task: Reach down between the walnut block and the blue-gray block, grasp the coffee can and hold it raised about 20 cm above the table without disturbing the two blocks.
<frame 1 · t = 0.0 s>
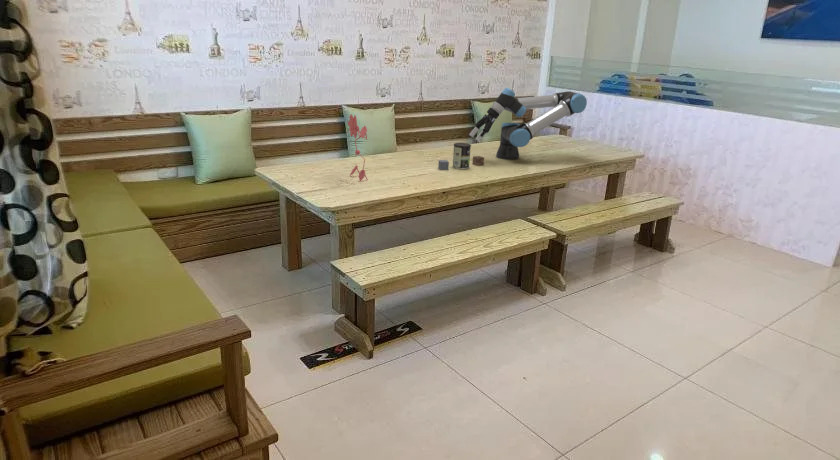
hand: (473, 138, 340), 15 cm above the table, tool tilted 35°, fingers open, 13 cm apart
walnut block: (478, 164, 340), on the table
red plant: (352, 179, 295), on the table
coffee can: (460, 167, 331), on the table
blue-gray block: (443, 169, 325), on the table
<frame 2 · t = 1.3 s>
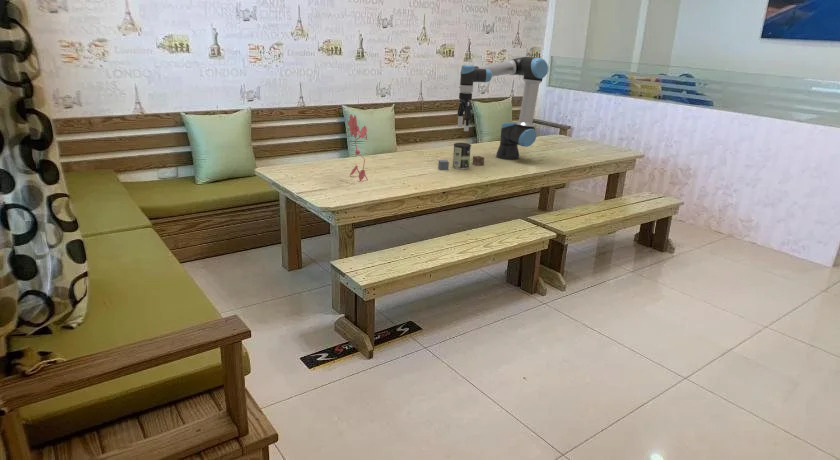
hand: (462, 129, 323), 23 cm above the table, tool pointing down, fingers open, 13 cm apart
nothing on the table moved.
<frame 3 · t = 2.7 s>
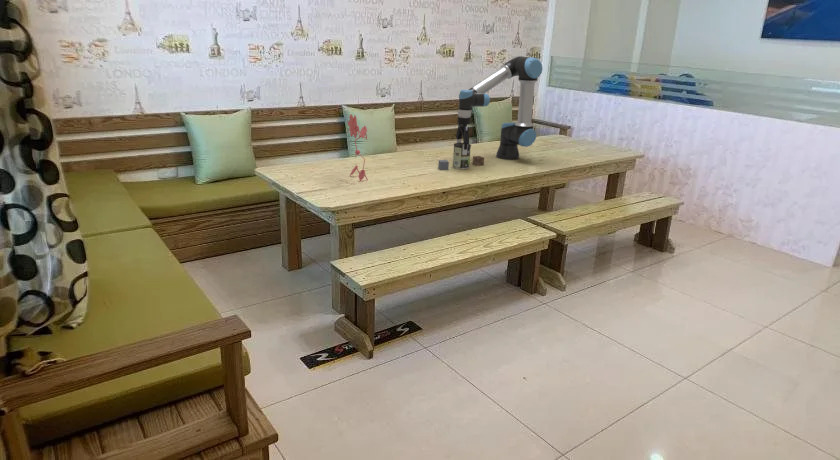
hand: (461, 152, 328), 9 cm above the table, tool pointing down, fingers open, 13 cm apart
nothing on the table moved.
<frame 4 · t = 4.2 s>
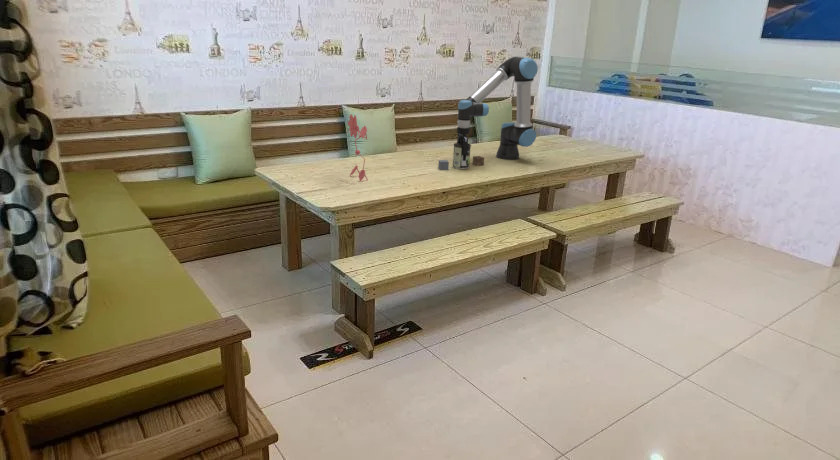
hand: (460, 163, 331), 2 cm above the table, tool pointing down, fingers closed on coffee can, 10 cm apart
coffee can: (460, 167, 331), on the table, touching gripper
everything else where it was.
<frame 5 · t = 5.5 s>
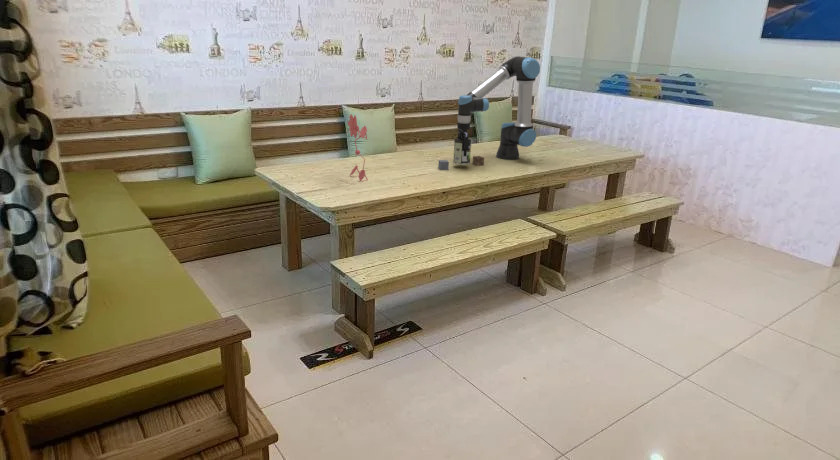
hand: (461, 159, 330), 5 cm above the table, tool pointing down, fingers closed on coffee can, 10 cm apart
coffee can: (461, 163, 331), point 3 cm above the table, touching gripper
everything else where it was.
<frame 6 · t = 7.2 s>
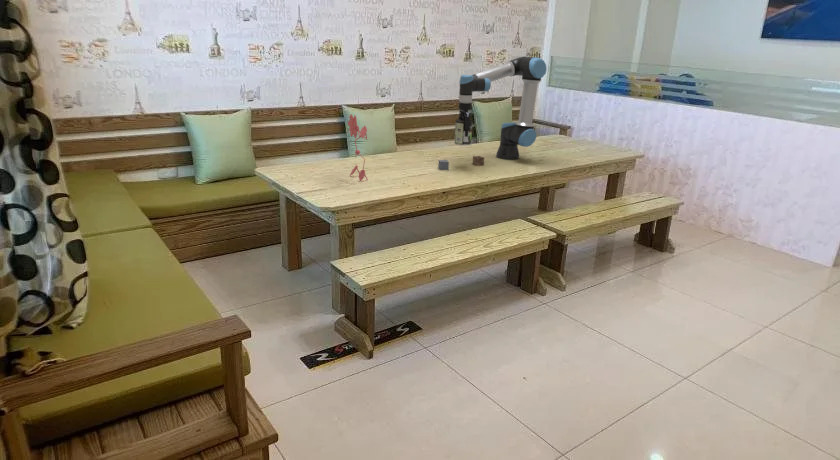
hand: (463, 140, 326), 17 cm above the table, tool pointing down, fingers closed on coffee can, 10 cm apart
coffee can: (462, 144, 327), point 14 cm above the table, touching gripper
everything else where it was.
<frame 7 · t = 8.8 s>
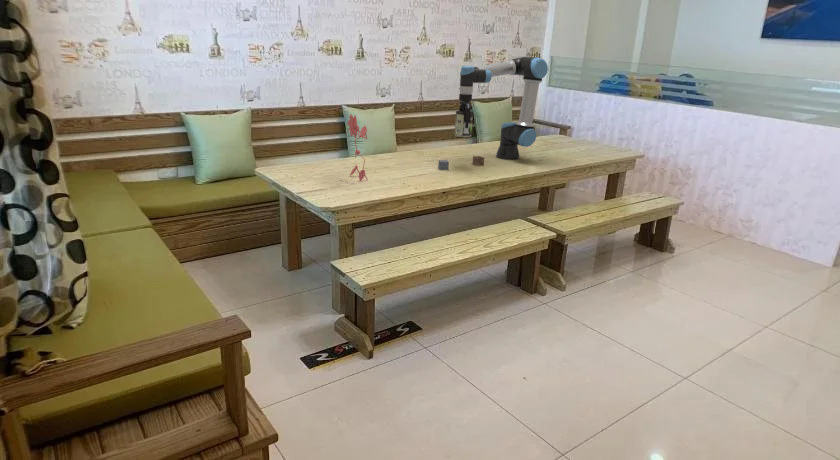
hand: (463, 131, 324), 22 cm above the table, tool pointing down, fingers closed on coffee can, 10 cm apart
coffee can: (462, 135, 325), point 19 cm above the table, touching gripper
everything else where it was.
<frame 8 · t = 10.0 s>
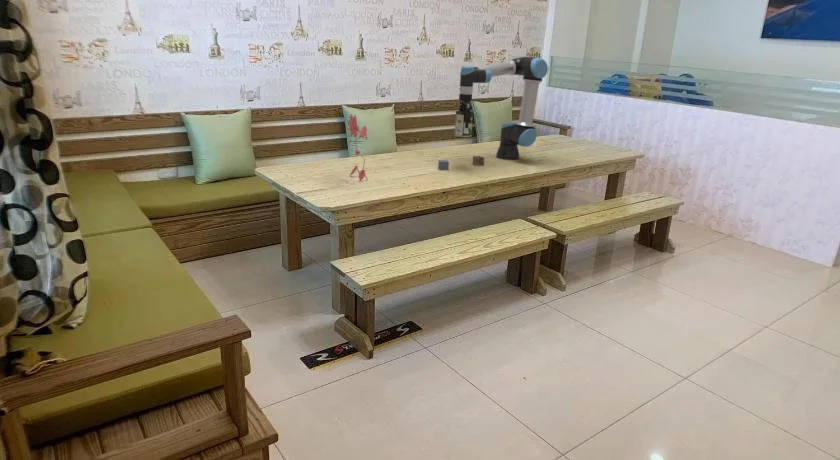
hand: (463, 131, 324), 22 cm above the table, tool pointing down, fingers closed on coffee can, 10 cm apart
coffee can: (462, 135, 325), point 19 cm above the table, touching gripper
everything else where it was.
at the end: coffee can point 19.2 cm above the table; walnut block moved 0.1 cm from its start; blue-gray block moved 0.1 cm from its start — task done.
